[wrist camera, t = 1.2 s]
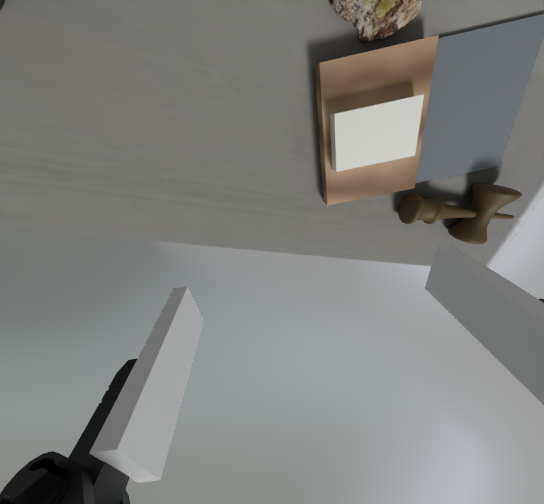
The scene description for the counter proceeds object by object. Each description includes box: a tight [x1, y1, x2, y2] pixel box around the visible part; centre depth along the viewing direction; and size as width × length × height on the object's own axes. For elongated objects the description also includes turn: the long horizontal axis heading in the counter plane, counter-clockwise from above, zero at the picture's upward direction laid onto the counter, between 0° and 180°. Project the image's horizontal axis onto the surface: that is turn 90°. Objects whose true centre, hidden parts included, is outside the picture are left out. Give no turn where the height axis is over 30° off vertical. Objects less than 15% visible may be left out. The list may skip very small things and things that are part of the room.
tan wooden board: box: [315, 35, 439, 206], centre depth 31 cm, size 18×14×2 cm
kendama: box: [398, 183, 522, 244], centre depth 37 cm, size 6×10×20 cm
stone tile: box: [330, 94, 424, 172], centre depth 29 cm, size 7×11×2 cm, turn 101°
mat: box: [415, 14, 544, 183], centre depth 31 cm, size 18×14×1 cm
